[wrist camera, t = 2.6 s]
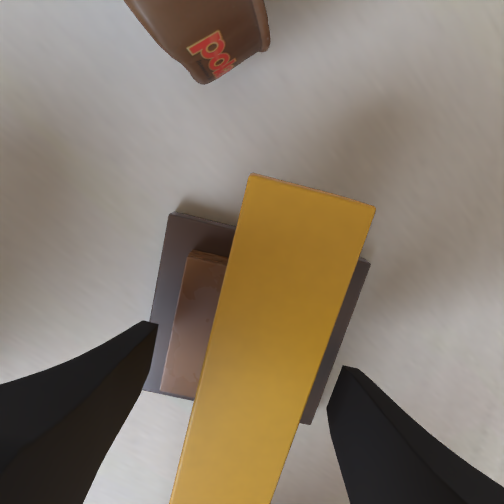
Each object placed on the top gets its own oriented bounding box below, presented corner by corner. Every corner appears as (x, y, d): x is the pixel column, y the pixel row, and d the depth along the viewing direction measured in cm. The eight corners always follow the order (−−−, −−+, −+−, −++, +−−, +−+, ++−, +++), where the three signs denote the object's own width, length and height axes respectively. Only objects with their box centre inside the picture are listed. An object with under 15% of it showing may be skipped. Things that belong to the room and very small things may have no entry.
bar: (243, 499, 14) (240, 587, 11) (173, 486, 14) (152, 573, 11) (342, 196, 10) (378, 207, 7) (250, 171, 10) (249, 173, 7)
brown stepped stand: (308, 414, 16) (321, 470, 13) (142, 378, 16) (115, 429, 13) (365, 258, 14) (396, 284, 11) (173, 210, 14) (150, 223, 10)
